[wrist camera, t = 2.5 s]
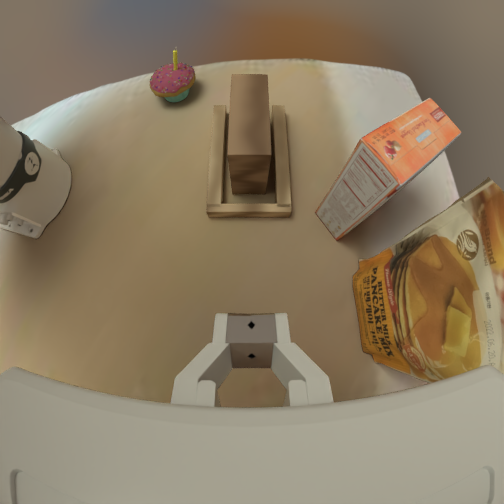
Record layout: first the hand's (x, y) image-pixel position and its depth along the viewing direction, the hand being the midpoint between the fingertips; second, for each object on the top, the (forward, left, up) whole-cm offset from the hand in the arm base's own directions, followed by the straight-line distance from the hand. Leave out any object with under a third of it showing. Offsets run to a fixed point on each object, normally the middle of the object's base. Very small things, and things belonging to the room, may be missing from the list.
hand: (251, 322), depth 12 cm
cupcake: (-14, +39, -28) cm, 50 cm away
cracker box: (+17, +16, -28) cm, 37 cm away
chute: (0, +24, -28) cm, 36 cm away
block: (0, +24, -28) cm, 37 cm away
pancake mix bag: (+19, -1, -28) cm, 34 cm away
